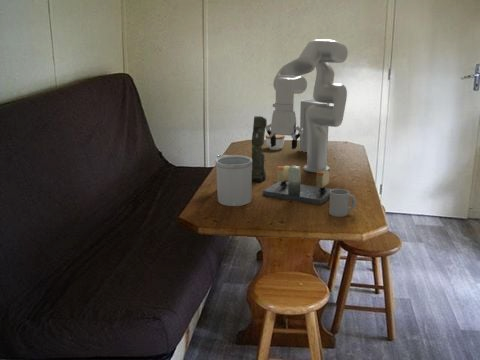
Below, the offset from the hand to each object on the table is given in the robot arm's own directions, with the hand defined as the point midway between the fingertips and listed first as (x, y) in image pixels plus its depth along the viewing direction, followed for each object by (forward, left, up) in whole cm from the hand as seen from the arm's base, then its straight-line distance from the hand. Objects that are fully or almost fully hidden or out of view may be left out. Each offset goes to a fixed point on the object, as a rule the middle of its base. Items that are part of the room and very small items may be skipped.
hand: (283, 147), depth 240 cm
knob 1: (0, 0, -16) cm, 16 cm away
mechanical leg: (-9, -17, -19) cm, 27 cm away
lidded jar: (-66, -36, -19) cm, 77 cm away
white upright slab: (-71, -15, -19) cm, 75 cm away
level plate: (+4, +9, -19) cm, 21 cm away
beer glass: (+13, -22, -19) cm, 32 cm away
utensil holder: (+24, -11, -19) cm, 32 cm away
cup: (+18, +33, -19) cm, 42 cm away
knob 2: (0, +18, -16) cm, 24 cm away
